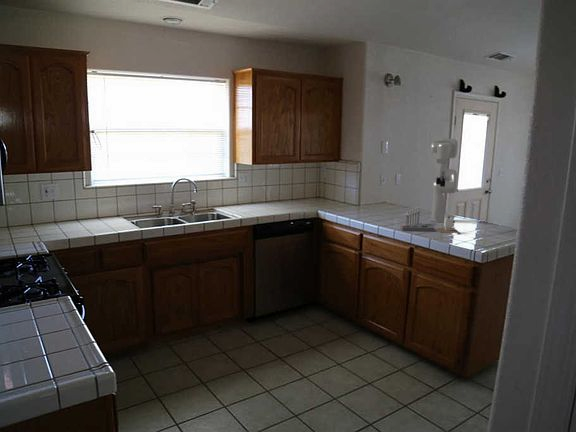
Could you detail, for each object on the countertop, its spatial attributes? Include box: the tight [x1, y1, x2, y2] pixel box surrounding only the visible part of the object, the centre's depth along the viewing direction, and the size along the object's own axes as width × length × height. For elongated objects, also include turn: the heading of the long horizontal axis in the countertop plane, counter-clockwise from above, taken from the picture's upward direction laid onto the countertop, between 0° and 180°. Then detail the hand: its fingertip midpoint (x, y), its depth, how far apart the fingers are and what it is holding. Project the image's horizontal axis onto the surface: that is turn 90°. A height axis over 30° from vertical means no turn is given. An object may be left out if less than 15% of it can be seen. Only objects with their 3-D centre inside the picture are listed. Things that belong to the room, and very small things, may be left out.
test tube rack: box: [402, 206, 424, 225], centre depth 324 cm, size 25×4×13 cm, turn 141°
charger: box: [443, 215, 454, 231], centre depth 308 cm, size 4×4×10 cm
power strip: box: [400, 224, 436, 232], centre depth 310 cm, size 7×22×4 cm, turn 86°
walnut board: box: [435, 227, 461, 235], centre depth 309 cm, size 13×13×1 cm
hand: (440, 185), depth 314 cm, fingers open, 9 cm apart
